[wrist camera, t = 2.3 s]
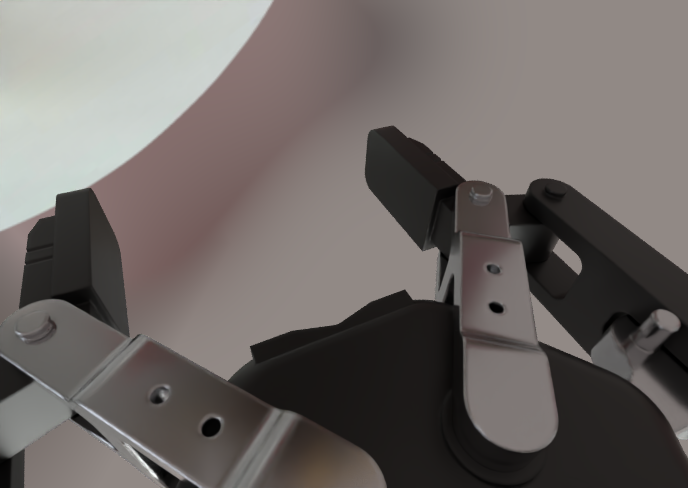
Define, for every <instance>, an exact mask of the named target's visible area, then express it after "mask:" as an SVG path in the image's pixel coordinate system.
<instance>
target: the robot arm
mask: <svg viewBox="0 0 688 488" xmlns="http://www.w3.org/2000/svg"><path fill="white" fill-rule="evenodd" d="M365 178H366V182H367V184H368V187H369V189H370V190H371V191H372V192H373V194H374V195H375V196H376V197H377V198H378V199H379V201H380V202H381V203H382V204H383V205H384V206H385V208H386V209H387V210H388V211H389V212H390V214H391V215H392V216H393V217H394V218H395V219H396V221H397V222H398V223H399V224H400V225H401V226H402V228H403V229H404V230H405V231H406V232H407V233H408V235H409V236H410V237H411V238H412V239H413V241H414V242H415V243H416V244H417V245H418V246H419V248H420V249H421V250H422V251H425V250H428V249H431V248H434V247H437V248H438V249H439V253H438V258H437V271H436V272H437V273H436V287H435V301H433V300H412V298H411V297H410V296H409V294H408V293H407V292H406V290H402V291H400V292H397V293H394V294H391V295H389V296H386V297H383V298H381V299H378V300H375V301H372V302H370V303H369V304H367V305H366V306H364V307H363V308H361V309H360V310H358V311H357V312H356V313H354V314H353V315H351V316H350V317H348V318H347V319H345V320H344V321H343V322H341V323H339V324H337V325H333V326H325V327H318V328H310V329H303V330H295V331H290V332H288V333H285V334H282V335H280V336H277V337H274V338H272V339H269V340H266V341H263V342H260V343H258V344H255V345H253V346H250V348H251V353H252V357H253V360H251V361H250V362H248V363H247V364H245V365H244V366H243V367H242V368H241V369H239V370H238V371H237V372H236V373H235V374H234V375H233V376H232V377H231V378H230V379H229V380H228V381H226V380H225V379H223V378H221V377H219V376H218V375H216V374H214V373H212V372H210V371H209V370H207V369H205V368H203V367H201V366H200V365H198V364H196V363H194V362H193V361H191V360H189V359H187V358H186V357H184V356H182V355H180V354H178V353H177V352H175V351H173V350H171V349H170V348H168V347H166V346H164V345H162V344H161V343H159V342H157V341H155V340H153V339H152V338H150V337H148V336H145V335H142V334H139V335H137V336H136V337H135V338H134V339H131V338H130V336H129V327H128V318H127V308H126V299H125V289H124V280H123V272H122V262H121V253H120V249H119V245H118V242H117V239H116V236H115V234H114V232H113V230H112V228H111V226H110V224H109V222H108V220H107V218H106V215H105V213H104V211H103V209H102V207H101V206H100V203H99V201H98V199H97V197H96V195H95V194H94V192H93V190H92V189H91V188H86V189H81V190H76V191H72V192H67V193H62V194H58V195H57V196H56V208H55V216H51V217H47V218H42V219H39V221H38V222H37V223H36V225H35V226H34V227H33V229H32V230H31V231H30V233H29V234H28V241H27V248H26V249H27V253H26V257H25V264H26V265H25V266H24V273H23V282H22V289H21V297H20V305H19V310H18V311H16V312H14V313H13V314H12V315H11V316H9V317H8V318H7V319H6V320H5V321H4V322H3V323H2V324H1V326H0V488H24V451H25V450H24V449H25V448H26V447H27V446H29V445H30V444H32V443H33V442H35V441H36V440H38V439H39V438H41V437H42V436H44V435H45V434H47V433H48V432H50V431H51V430H53V429H54V428H56V427H57V426H59V425H60V424H62V423H63V422H65V421H66V420H68V419H69V420H70V421H72V422H73V423H74V424H76V425H77V426H79V427H80V428H81V429H83V430H84V431H86V432H87V433H88V434H90V435H91V436H93V437H94V438H95V439H97V440H98V441H100V442H101V443H103V444H104V445H105V446H107V447H108V448H110V449H111V450H113V451H114V452H115V453H117V454H118V455H119V456H121V457H122V458H124V459H125V460H126V461H127V462H129V463H130V464H131V465H132V466H134V467H135V468H136V469H137V470H138V471H140V472H141V473H142V474H143V475H145V476H146V477H147V478H148V479H150V480H151V481H152V482H154V483H155V484H157V485H158V486H159V487H161V488H688V458H687V456H686V454H685V453H684V451H683V449H682V447H681V445H680V443H679V440H678V439H683V440H688V274H687V273H686V272H684V271H683V270H682V269H680V268H679V267H678V266H676V265H675V264H674V263H672V262H671V261H670V260H668V259H667V258H666V257H664V256H663V255H662V254H660V253H659V252H658V251H656V250H655V249H654V248H652V247H651V246H650V245H648V244H647V243H646V242H644V241H643V240H642V239H640V238H639V237H638V236H636V235H635V234H634V233H632V232H631V231H630V230H628V229H627V228H626V227H624V226H623V225H622V224H620V223H619V222H618V221H616V220H615V219H614V218H612V217H611V216H610V215H608V214H607V213H606V212H604V211H603V210H601V208H599V207H598V206H597V205H595V204H594V203H593V202H591V201H590V200H589V199H587V198H586V197H584V196H583V195H582V194H581V193H579V192H578V191H577V190H575V189H574V188H573V187H571V186H570V185H568V184H565V183H563V182H561V181H557V180H554V179H537V180H535V181H533V182H532V183H531V184H530V186H529V188H528V190H527V193H526V194H523V195H504V193H503V192H502V191H501V190H500V189H499V188H497V187H496V186H494V185H492V184H489V183H486V182H483V181H466V180H465V179H464V178H462V177H461V176H460V175H459V174H458V173H457V172H455V171H454V170H453V169H452V168H451V167H450V166H448V165H447V164H446V163H445V162H444V161H441V159H440V158H439V157H438V156H437V155H436V154H433V152H432V151H431V150H430V149H429V148H428V147H426V146H425V145H424V144H423V143H420V142H418V141H416V140H414V139H411V138H407V137H406V136H405V135H404V134H403V133H402V132H400V131H399V130H398V129H397V128H396V127H394V126H388V127H383V128H379V129H374V130H371V131H370V132H369V134H368V140H367V153H366V165H365ZM559 239H561V240H562V241H563V242H564V243H565V244H566V245H567V246H568V247H570V248H571V249H572V250H573V251H574V252H575V253H576V254H577V255H578V256H579V258H580V259H581V262H582V270H581V273H580V274H579V275H578V274H577V273H575V272H574V271H573V270H572V269H571V268H570V267H569V266H568V265H567V264H566V263H565V262H564V261H563V260H562V259H560V258H559V257H558V256H557V255H556V254H555V253H554V252H553V249H554V247H555V245H556V243H557V242H558V240H559ZM530 292H531V293H532V294H533V295H534V296H535V297H536V298H537V299H538V300H539V301H540V303H541V304H542V305H544V307H545V308H546V309H547V310H548V311H549V312H550V313H551V314H552V315H553V317H554V318H555V319H556V320H557V321H558V322H559V323H560V324H561V325H562V326H563V327H564V328H565V330H567V332H568V333H569V334H570V335H571V336H572V337H573V338H574V339H575V340H576V341H577V343H578V344H580V346H581V347H582V348H583V349H584V350H585V351H586V352H587V353H588V354H589V355H590V357H591V359H592V362H593V364H592V363H590V362H587V361H585V360H582V359H580V358H578V357H575V356H573V355H571V354H568V353H566V352H563V351H561V350H559V349H556V348H554V347H551V346H549V345H547V344H544V343H542V342H539V341H538V340H537V334H536V327H535V321H534V315H533V308H532V302H531V297H530Z"/></svg>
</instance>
